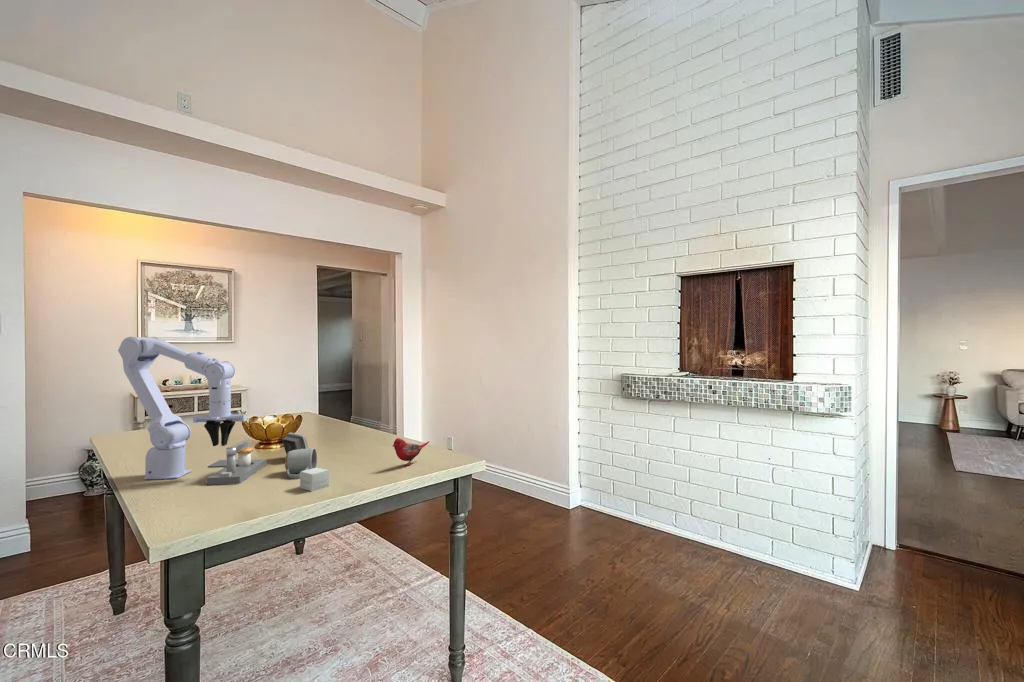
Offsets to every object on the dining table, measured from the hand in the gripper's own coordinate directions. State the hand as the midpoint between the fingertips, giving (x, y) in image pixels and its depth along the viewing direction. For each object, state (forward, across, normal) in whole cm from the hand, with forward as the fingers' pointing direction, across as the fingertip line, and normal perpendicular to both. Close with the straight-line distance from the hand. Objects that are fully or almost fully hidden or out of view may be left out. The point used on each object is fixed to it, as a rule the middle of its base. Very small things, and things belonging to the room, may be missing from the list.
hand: (219, 445), depth 145 cm
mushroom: (+9, +5, +5) cm, 12 cm away
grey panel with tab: (+9, +5, +1) cm, 11 cm away
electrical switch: (+10, +17, +18) cm, 27 cm away
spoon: (+2, +5, +1) cm, 5 cm away
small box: (+10, +32, -15) cm, 37 cm away
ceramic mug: (+10, +24, -1) cm, 26 cm away
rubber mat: (+9, -4, +14) cm, 18 cm away
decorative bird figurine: (+10, +57, +7) cm, 59 cm away
